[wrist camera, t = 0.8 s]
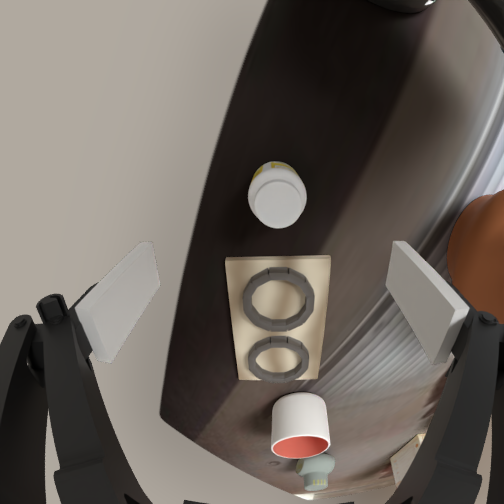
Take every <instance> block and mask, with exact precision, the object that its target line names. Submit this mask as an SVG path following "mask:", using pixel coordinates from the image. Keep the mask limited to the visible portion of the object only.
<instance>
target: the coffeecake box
mask: <svg viewBox="0 0 504 504" xmlns="http://www.w3.org/2000/svg"><path fill="white" fill-rule="evenodd" d="M425 435H426V433H425V434H417V435H416V436H415V437H414V438H413V439H412V440H411V441H410V442H409V443H407V444H406V445H405V446H404V447H403V448H402V449H400V450H399V451H398V452H397V453H396V454H394V455H393V456H392V457H391V458H390V460H391V465H392V469H393V474H394V479H395V483H396V488H398V486H399V484H400V483H401V481H402V479H403V478H404V476H405V474H406V472H407V471H408V469H409V467H410V465H411V463H412V461H413V459H414V458H415V456H416V454H417V452H418V450H419V448H420V446H421V443H422V441H423V439H424V437H425Z"/></svg>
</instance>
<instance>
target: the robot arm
mask: <svg viewBox="0 0 504 504" xmlns="http://www.w3.org/2000/svg"><path fill="white" fill-rule="evenodd" d="M368 1H370V2H372V3H374V4H376V5H378V6H381V7H383V8H386V9H389V10H393V11H397V12H403V13H415V12H420V11H423V10H425V9H426V8H428V7H429V6H431V5H432V4H434V3H435V2H436V0H368ZM468 1H469V2H470V3H471V4H472V6H473V7H474V8H475V9H476V11H477V12H478V13H479V15H480V16H481V17H482V19H483V20H484V21H485V23H486V24H487V26H488V27H489V29H490V30H491V31H492V33H493V34H494V36H495V37H496V39H497V41H498V42H499V44H500V45H501V49H502V51H503V53H504V0H468ZM160 286H161V285H160V280H159V274H158V269H157V264H156V258H155V252H154V247H153V242H140V243H139V244H138V245H137V246H136V247H135V248H134V249H133V250H131V251H130V252H129V254H127V255H126V256H125V257H124V258H123V259H122V260H121V261H120V262H119V263H118V264H117V265H116V266H115V267H114V268H113V269H112V270H111V271H110V272H109V273H108V274H107V275H106V276H105V277H104V278H103V279H102V280H101V281H100V282H98V283H96V284H94V285H93V286H91V287H90V288H89V289H88V290H87V291H86V292H85V294H83V295H82V296H81V297H80V299H78V300H77V301H76V302H75V303H74V305H73V306H72V307H71V308H70V309H69V310H68V308H67V306H66V303H65V300H64V297H63V295H61V294H52V295H48V296H46V297H44V298H43V299H41V300H40V301H39V302H38V303H37V305H36V308H37V310H38V313H39V315H40V317H41V319H42V322H43V324H34V322H33V320H32V318H31V316H30V315H20V316H18V317H16V318H15V319H14V320H13V321H12V322H11V323H10V325H9V327H8V329H7V331H6V333H5V335H4V337H3V340H2V342H1V344H0V504H46V493H45V441H46V427H47V416H48V409H49V416H50V422H51V428H52V433H53V438H54V443H55V447H56V451H57V456H58V460H59V464H60V470H57V471H55V472H54V481H55V485H56V489H57V492H58V495H59V498H60V501H61V504H152V502H151V501H150V500H149V499H148V497H147V496H146V495H145V493H144V492H143V490H142V488H141V487H140V485H139V483H138V481H137V479H136V477H135V475H134V473H133V471H132V469H131V467H130V466H129V463H128V461H127V459H126V457H125V455H124V453H123V450H122V448H121V446H120V444H119V441H118V439H117V437H116V434H115V431H114V429H113V426H112V424H111V421H110V419H109V416H108V413H107V411H106V408H105V405H104V402H103V399H102V396H101V393H100V390H99V387H98V384H97V381H96V377H95V374H94V370H93V367H92V363H91V361H90V359H89V357H88V356H89V355H90V353H91V352H92V351H93V353H94V355H95V357H96V359H97V361H100V362H105V363H110V364H111V363H112V362H113V360H114V359H115V357H116V355H117V354H118V352H119V350H120V349H121V347H122V345H123V344H124V342H125V340H126V339H127V337H128V336H129V334H130V332H131V331H132V329H133V328H134V326H135V324H136V323H137V321H138V320H139V318H140V317H141V315H142V313H143V312H144V310H145V309H146V307H147V305H148V304H149V303H150V301H151V299H152V298H153V296H154V295H155V293H156V292H157V290H158V289H159V287H160ZM385 286H386V287H387V289H388V290H389V292H390V294H391V295H392V297H393V298H394V300H395V301H396V303H397V305H398V306H399V308H400V310H401V311H402V313H403V315H404V316H405V318H406V320H407V321H408V323H409V325H410V326H411V328H412V330H413V332H414V333H415V335H416V337H417V339H418V340H419V342H420V344H421V346H422V347H423V349H424V351H425V353H426V355H427V357H428V358H429V360H430V362H431V364H432V365H435V364H440V363H445V362H446V361H447V359H448V357H449V355H450V353H451V351H452V353H453V354H454V356H455V358H454V360H453V362H452V364H451V366H450V368H449V370H448V372H447V373H446V375H445V376H446V377H447V376H448V378H447V381H446V384H445V387H444V390H443V393H442V395H441V398H440V401H439V404H438V406H437V409H436V411H435V414H434V416H433V419H432V421H431V424H430V426H429V428H428V430H427V433H426V435H425V437H424V439H423V441H422V443H421V446H420V448H419V450H418V452H417V454H416V456H415V458H414V459H413V461H412V463H411V465H410V467H409V469H408V471H407V472H406V474H405V476H404V478H403V479H402V481H401V483H400V484H399V486H398V488H397V489H396V491H395V492H394V494H393V495H392V496H391V498H390V499H389V500H388V501H387V502H386V503H385V504H474V503H475V500H476V497H477V495H478V492H479V490H480V487H481V483H482V476H481V475H479V474H477V467H478V464H479V461H480V458H481V454H482V451H483V447H484V443H485V439H486V435H487V431H488V427H489V422H490V417H491V414H492V456H491V471H490V482H489V489H488V496H487V503H486V504H504V324H499V321H498V320H497V318H496V317H495V316H494V315H492V314H490V313H488V312H485V311H477V310H476V309H475V308H474V307H473V306H472V305H471V304H470V302H469V301H468V300H467V299H466V298H464V296H463V295H462V294H461V293H460V291H459V290H458V289H457V288H456V287H455V286H454V285H452V284H450V283H449V282H447V281H445V280H444V279H443V278H442V277H441V276H440V275H439V274H438V273H437V272H436V271H435V270H434V269H433V268H432V267H431V266H430V265H429V264H428V263H427V262H426V261H425V260H424V259H423V258H422V257H421V256H420V255H419V254H418V253H417V252H416V251H415V250H414V249H413V248H412V247H411V246H410V245H409V244H408V243H407V242H405V241H393V246H392V252H391V258H390V263H389V269H388V274H387V279H386V284H385ZM27 363H28V365H27ZM183 504H206V503H199V502H193V501H188V500H184V503H183ZM341 504H354V502H348V503H341Z"/></svg>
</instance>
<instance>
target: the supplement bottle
mask: <svg viewBox="0 0 504 504" xmlns="http://www.w3.org/2000/svg"><path fill="white" fill-rule="evenodd" d="M306 200H307V195H306V189H305V186H304V184H303V182H302V180H301V179H300V177H299V176H298V174H297V173H296V171H295V170H294V169H293V168H292V167H291V166H289V165H288V164H286V163H283V162H279V161H272V162H268V163H266V164H264V165H262V166H261V167H260V168H259V169H258V170H257V171H256V172H255V174H254V176H253V179H252V181H251V184H250V187H249V191H248V201H249V205H250V208H251V210H252V212H253V213H254V214H255V216H256V217H257V218H258V219H259V220H260V221H261V222H262V223H264V224H265V225H267V226H269V227H272V228H284V227H288V226H290V225H292V224H293V223H294V222H295V221H296V220H297V219H298V218H299V216H300V214H301V213H302V212H303V210H304V208H305V205H306Z"/></svg>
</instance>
